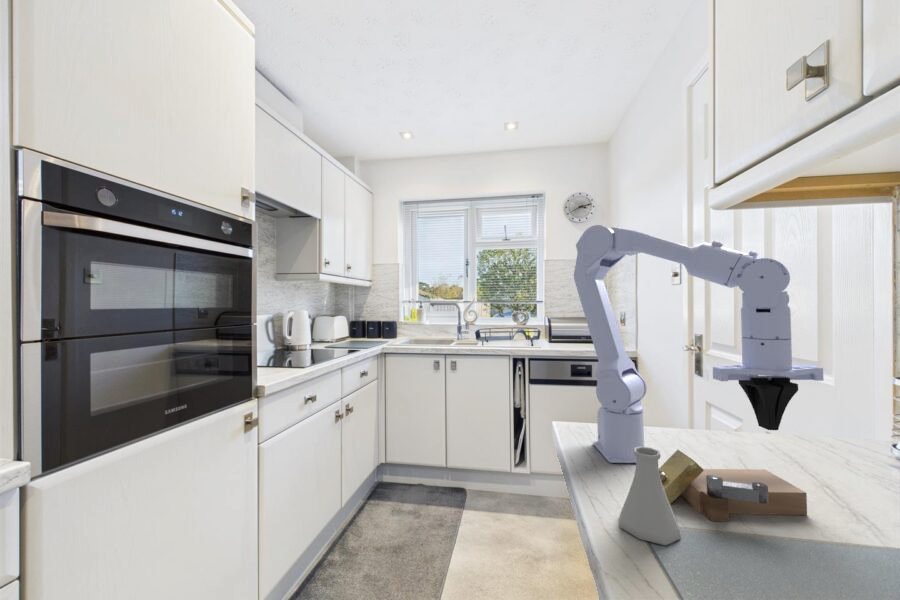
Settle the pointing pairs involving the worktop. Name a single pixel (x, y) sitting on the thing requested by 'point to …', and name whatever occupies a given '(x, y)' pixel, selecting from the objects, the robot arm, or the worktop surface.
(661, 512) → the flask
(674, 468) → the lever cap
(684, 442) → the worktop surface
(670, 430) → the worktop surface
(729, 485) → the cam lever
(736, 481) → the body
